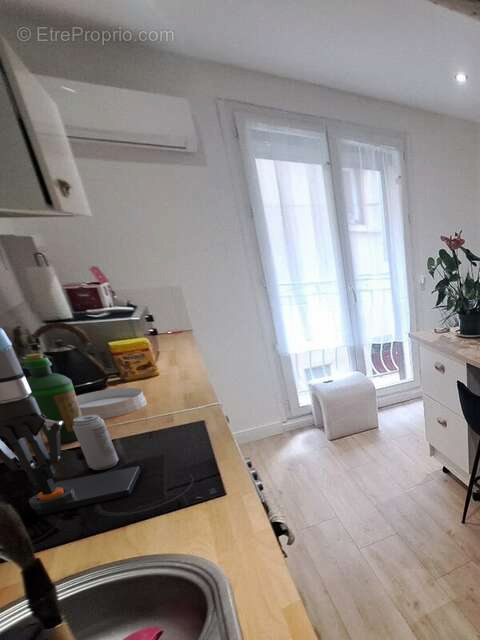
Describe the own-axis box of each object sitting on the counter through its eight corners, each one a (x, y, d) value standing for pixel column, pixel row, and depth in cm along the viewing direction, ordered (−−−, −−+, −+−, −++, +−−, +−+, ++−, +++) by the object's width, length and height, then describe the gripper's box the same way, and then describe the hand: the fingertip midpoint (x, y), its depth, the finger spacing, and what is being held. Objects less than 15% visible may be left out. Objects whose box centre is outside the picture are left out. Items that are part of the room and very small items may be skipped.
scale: (30, 519, 94) (23, 506, 93) (53, 488, 106) (48, 477, 105) (129, 497, 103) (124, 485, 102) (140, 471, 115) (136, 460, 113)
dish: (137, 414, 151) (133, 402, 150) (53, 425, 141) (47, 412, 139) (153, 396, 169) (149, 384, 168) (79, 404, 159) (74, 392, 157)
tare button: (37, 505, 95) (34, 498, 95) (44, 497, 98) (40, 490, 98) (62, 500, 97) (59, 493, 97) (68, 492, 100) (64, 485, 100)
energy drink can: (101, 461, 119) (82, 414, 114) (125, 460, 120) (107, 413, 115) (84, 471, 114) (63, 422, 108) (109, 470, 115) (90, 421, 109)
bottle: (96, 437, 133) (63, 354, 124) (48, 449, 125) (8, 361, 115) (88, 429, 139) (56, 348, 129) (41, 440, 131) (3, 355, 121)
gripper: (56, 388, 95) (92, 476, 103) (-31, 398, 88) (15, 491, 97) (43, 398, 89) (83, 490, 97) (-51, 409, 82) (1, 507, 91)
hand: (49, 491), depth 97 cm, fingers closed
